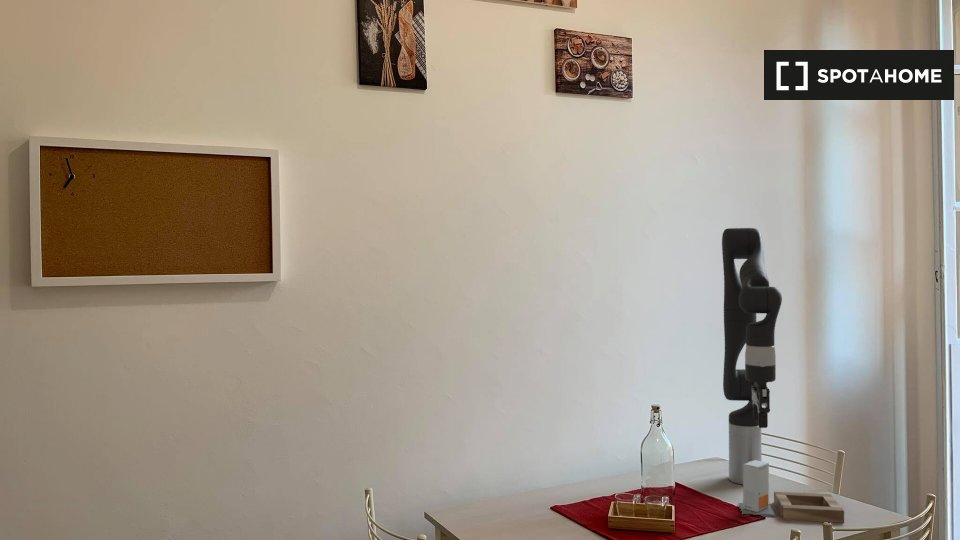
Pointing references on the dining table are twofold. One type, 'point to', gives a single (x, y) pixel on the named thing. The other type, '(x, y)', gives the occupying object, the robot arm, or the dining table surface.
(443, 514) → the dining table surface
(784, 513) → the socket block
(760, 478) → the skincare box
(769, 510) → the slate coaster
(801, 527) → the dining table surface
